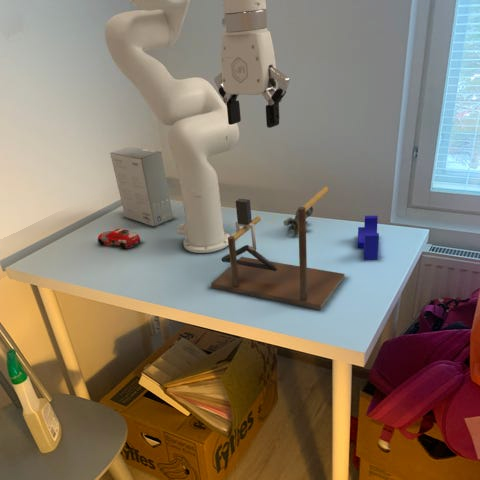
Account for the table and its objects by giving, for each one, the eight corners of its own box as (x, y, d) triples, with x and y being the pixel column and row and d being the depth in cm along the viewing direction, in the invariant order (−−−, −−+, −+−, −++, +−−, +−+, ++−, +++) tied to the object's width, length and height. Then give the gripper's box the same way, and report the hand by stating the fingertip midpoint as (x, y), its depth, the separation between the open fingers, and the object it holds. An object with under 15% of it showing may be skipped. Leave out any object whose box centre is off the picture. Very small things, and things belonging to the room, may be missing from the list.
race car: (95, 244, 137) (91, 231, 135) (108, 237, 141) (104, 224, 139) (130, 251, 131) (127, 237, 129) (143, 243, 135) (140, 229, 132)
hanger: (220, 263, 113) (212, 198, 105) (223, 260, 114) (215, 196, 106) (275, 272, 107) (271, 205, 98) (278, 269, 108) (275, 202, 99)
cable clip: (357, 238, 124) (358, 215, 121) (376, 238, 124) (377, 215, 120) (357, 259, 115) (358, 235, 112) (377, 259, 114) (378, 235, 111)
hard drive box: (174, 218, 148) (162, 151, 137) (154, 227, 143) (140, 158, 132) (143, 209, 157) (130, 145, 146) (123, 217, 153) (108, 152, 142)
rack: (211, 287, 110) (198, 199, 99) (242, 260, 120) (233, 177, 109) (320, 310, 98) (320, 212, 87) (344, 278, 108) (347, 186, 97)
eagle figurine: (316, 233, 127) (319, 214, 133) (300, 213, 123) (304, 194, 130) (292, 246, 131) (297, 226, 137) (276, 227, 128) (281, 208, 134)
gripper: (196, 28, 90) (208, 126, 100) (272, 23, 80) (277, 132, 90) (223, 24, 95) (232, 118, 104) (298, 18, 85) (300, 122, 94)
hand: (253, 124), depth 97 cm, fingers open, 9 cm apart
